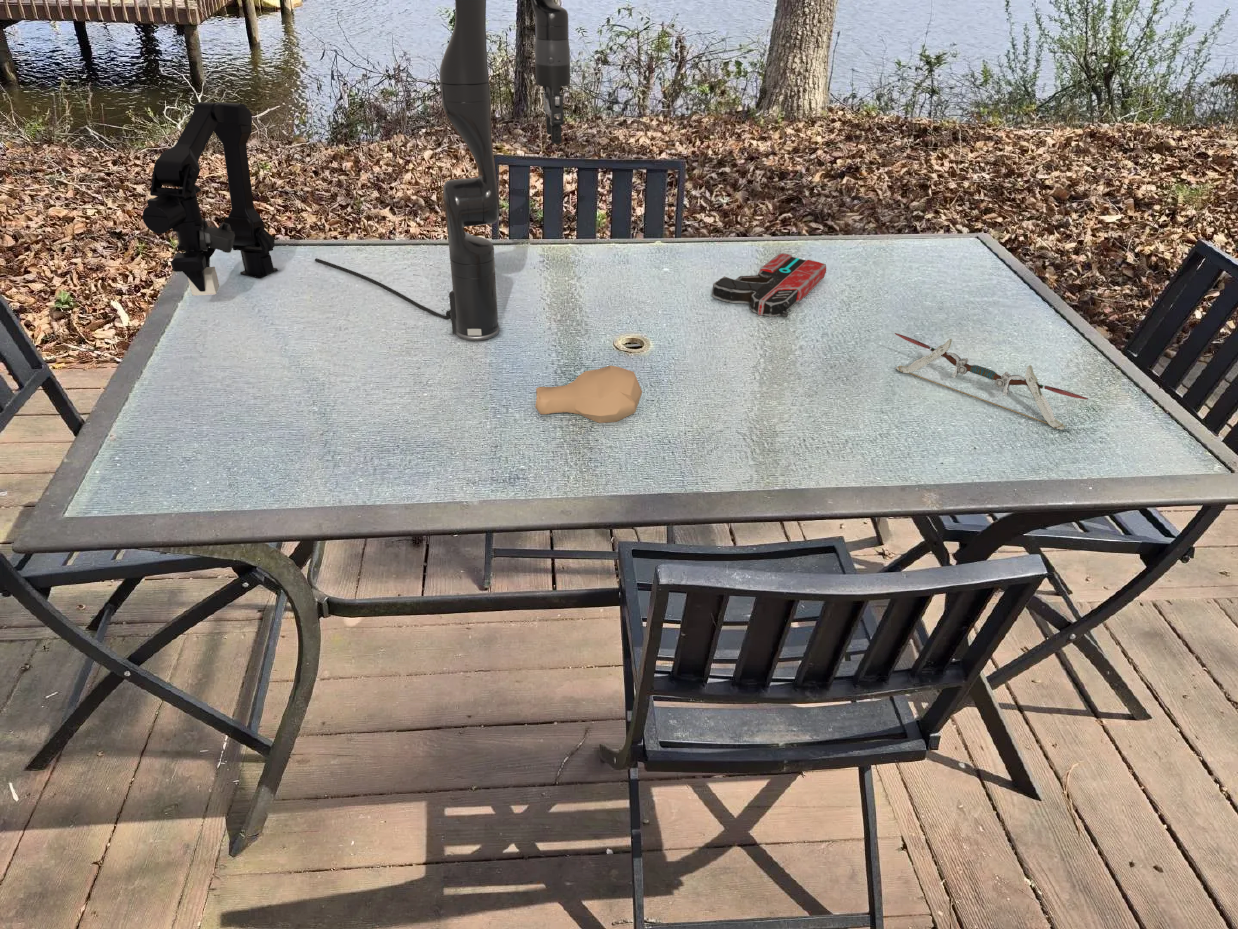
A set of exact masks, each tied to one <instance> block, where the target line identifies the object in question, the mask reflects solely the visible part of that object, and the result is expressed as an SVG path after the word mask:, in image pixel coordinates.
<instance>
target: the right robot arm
mask: <svg viewBox="0 0 1238 929" xmlns="http://www.w3.org/2000/svg"><path fill="white" fill-rule="evenodd" d="M530 3H531V6H532V9H533V10H532V11H533V13H534V17H535V22H534V23H535V44H534V45H535V46H534V61H535V62H534V64H535V65H534V66H535V83H536V85H537V86H539V87H543V94H542V98H543V111H544V116H545V124H546V125H545V126H546V132H545V133H546V134H547V135H548V136H550V139H551V140H550V142H551V144H553V145H559V144H562V126H563V125H564V123H565V121H564V95H563V94H562V92H561V88H563V87H568V86H569V85H570V84H571V47H570V39H569V38H570V36H569V34H570V33H569V31H570V30H569V27H570V26H569V24H570V22H569V20H570V19H569V13H568V10H567V9H566V8H564V7H562V6H559V5H558V4H556V3H555V2H554V0H530ZM454 5H455V21H454V25H453V26H454V27H453V30H452V34H451V37H450V40H449V42H448V45H447V47H446V49H445V51H444V54H443V57H442V60H441V63H440V68H439V88H440V97H441V107H442V110H443V112H444V114H445V117H446V118H447V120H448V121H449V123H450V124H451V126H452V127H453V128H454V130H455V132H456V133H457V134H458V136H459V137H460V138H461V139H462V140H463V143H464V144H465V145H466V147H467V149H468V150H469V152H470V154H471V156H472V157H473V160H474V162H475V165H476V168H477V174H478V176H477V177H469V178H458V179H448V180H446V181H445V182H444V184H443V187H442V202H443V210H444V216H445V217H444V218H445V222H446V223H445V224H446V231H447V240H448V241H447V242H448V250H449V263H450V264H449V265H450V275H451V276H450V277H451V286H452V290H451V291H450V292H448V297H449V310H447V311H445V315H443V314H440V313H438V312H437V311H434V310H432V309H430V308H428V307H426V306H424V305H422V304H420V303H418V302H416V301H415V300H413V299H411V298H410V297H408V296H406V295H404V294H402V293H401V292H398V291H397V290H395V289H393V288H391V287H389V286H387V285H385V284H384V283H381V282H379V281H377V280H375V279H373V278H370V277H369V276H366V275H364V274H362V273H359V272H357V271H354V270H351V269H349V268H346V267H344V266H341V265H338V264H335V263H331V262H329V261H326V260H323V259H320V258H314V262H316V263H318V264H322V265H325V266H327V267H330V268H334V269H335V270H339V271H342V272H345V273H347V274H350V275H352V276H355V277H357V278H360V279H361V280H362V279H363V280H364V281H367V282H369V283H371V284H374V285H376V286H378V287H380V288H382V289H384V290H385V291H387V292H390V293H392V294H393V295H395V296H397V297H398V298H400V299H402V300H404V301H406V302H408V303H409V304H411V305H412V306H414V307H416V308H418V309H420V310H422V311H424V312H426V313H428V314H430V315H432V316H434V317H438V318H440V319H443V320H450V322H451V332H452V334H453V335H456V336H457V337H458V338H460V339H462V340H464V341H470V342H479V341H481V342H482V341H486V340H487V341H488V340H491V339H493V338H494V337H495V338H496V337H497V335H499V333H500V325H499V312H498V311H499V310H498V296H497V295H498V294H497V293H498V292H497V276H496V275H497V274H496V261H495V259H496V258H495V248H494V244H493V242H492V241H491V240H490V239H488V238H485V237H483V236H482V237H481V236H477V235H474V234H471V233H469V232H467V231H466V230H465V228H466V227H477V226H486V225H492V224H495V223H497V222H498V220H499V216H500V196H499V189H498V181H497V172H496V165H495V156H494V147H493V132H492V108H491V88H490V76H489V66H488V65H489V64H488V49H487V47H488V45H487V0H454Z"/></svg>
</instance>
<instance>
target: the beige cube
mask: <svg viewBox="0 0 1238 929" xmlns="http://www.w3.org/2000/svg"><path fill="white" fill-rule="evenodd" d="M204 277H205V291H202V292H201V291H199V290H198V288H197V287H196V286H195V285H194V284H193V283H192V281H191V280H190V279H189V278H188V277H187V281H188V285H189V288H190V292H191V296H209V295H210V296H211V295H213V296H214V295H217V293H218V291H219V289H220V282H219V279H218V274H217V270H216V266H210V267H206V268H205V269H204Z"/></svg>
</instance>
